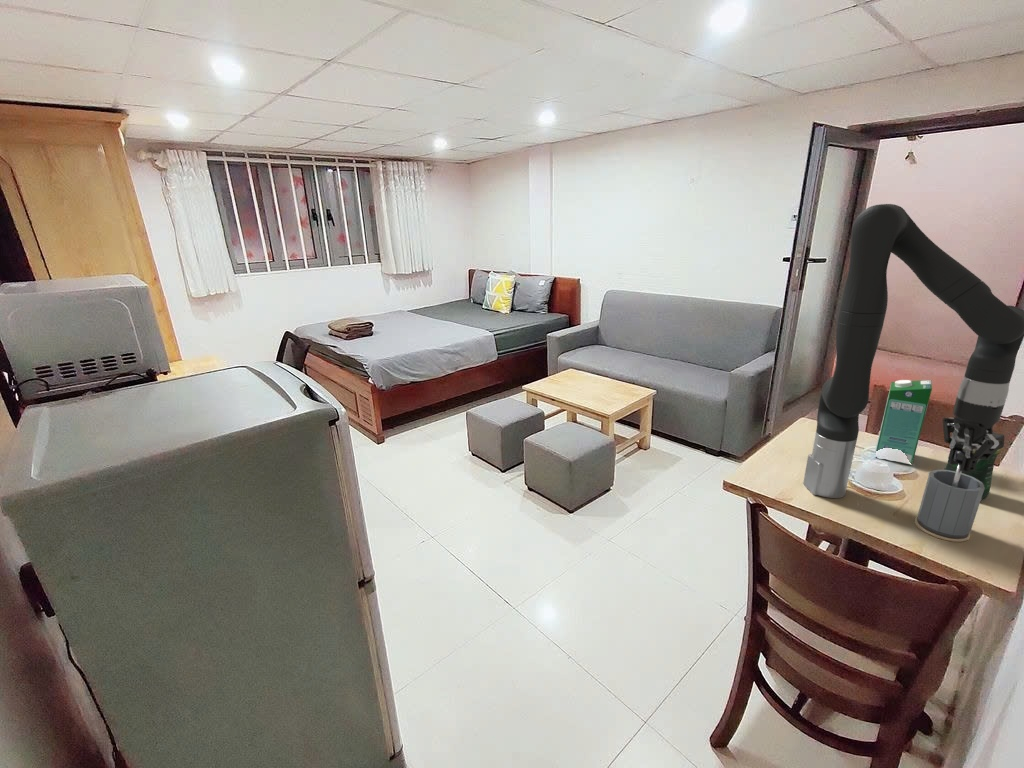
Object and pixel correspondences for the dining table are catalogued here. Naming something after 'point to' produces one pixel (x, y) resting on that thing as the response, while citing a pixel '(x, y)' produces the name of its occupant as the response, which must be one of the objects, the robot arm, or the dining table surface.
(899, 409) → the milk carton
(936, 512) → the press carafe
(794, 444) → the dining table surface
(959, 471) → the plunger
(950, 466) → the coffee jar
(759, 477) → the dining table surface
